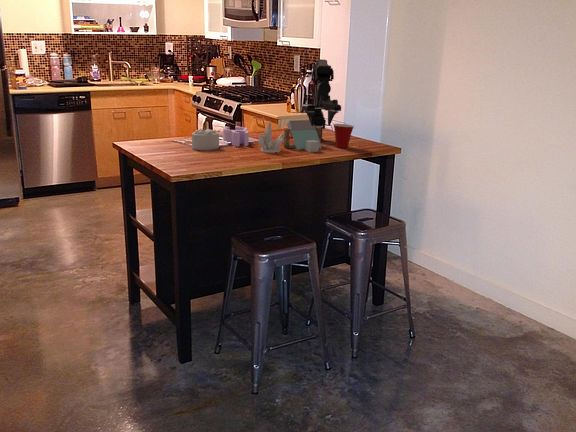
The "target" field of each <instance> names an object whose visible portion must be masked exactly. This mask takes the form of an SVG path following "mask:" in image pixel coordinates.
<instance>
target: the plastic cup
mask: <svg viewBox="0 0 576 432" xmlns="http://www.w3.org/2000/svg"><path fill="white" fill-rule="evenodd" d="M332 125H333V128H334V137H335V146H336V148H337V149H348V147H349V144H350V141H351V136H352V132H353V129H354V127H355V125H353V124H347V123H333V124H332Z"/></svg>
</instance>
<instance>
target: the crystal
mask: <svg viewBox="0 0 576 432" xmlns="http://www.w3.org/2000/svg"><path fill="white" fill-rule="evenodd" d="M259 133H260V134H259V137H258V138H257V140H258V142H257V143H258V144H259V145H260V146H261V148H260V151H261V152H263V153H268V154H269V153H270V154H271V153H272V154H274V153H275V152H277V153H281V152H282V149H281V148H280V146H281V145H282V143H284V132H282V133H281V134H280V135H279V136H278V137H276V139H275V140H273V133H272V123H271V120H269V121H268V123H267V125H266V127H265V129H264V131H263V134H262V133H261V132H259ZM280 151H281V152H280ZM275 154H276V153H275Z"/></svg>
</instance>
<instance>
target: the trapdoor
mask: <svg viewBox="0 0 576 432" xmlns="http://www.w3.org/2000/svg"><path fill="white" fill-rule="evenodd" d="M286 126H287V129H291V131H290V134H291V135H292V139H293V142H294V143H293V144H295V146H296V148H295V149H296V150H305V140H316V141H318V142H319V149H322V143H321V144H320V141H319V138H318V135H317V131H316V128H315V127H314V124H313V126H311V123H310V120H309V119H305V120H304V119H301V120H299V119H297V120H289V121H288V122H287V124H286Z"/></svg>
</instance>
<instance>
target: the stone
mask: <svg viewBox="0 0 576 432" xmlns="http://www.w3.org/2000/svg"><path fill="white" fill-rule="evenodd" d="M319 150H320V148H319V142H318V141H316V140H305V149H304V151H305V152H307V153H318V152H319Z"/></svg>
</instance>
